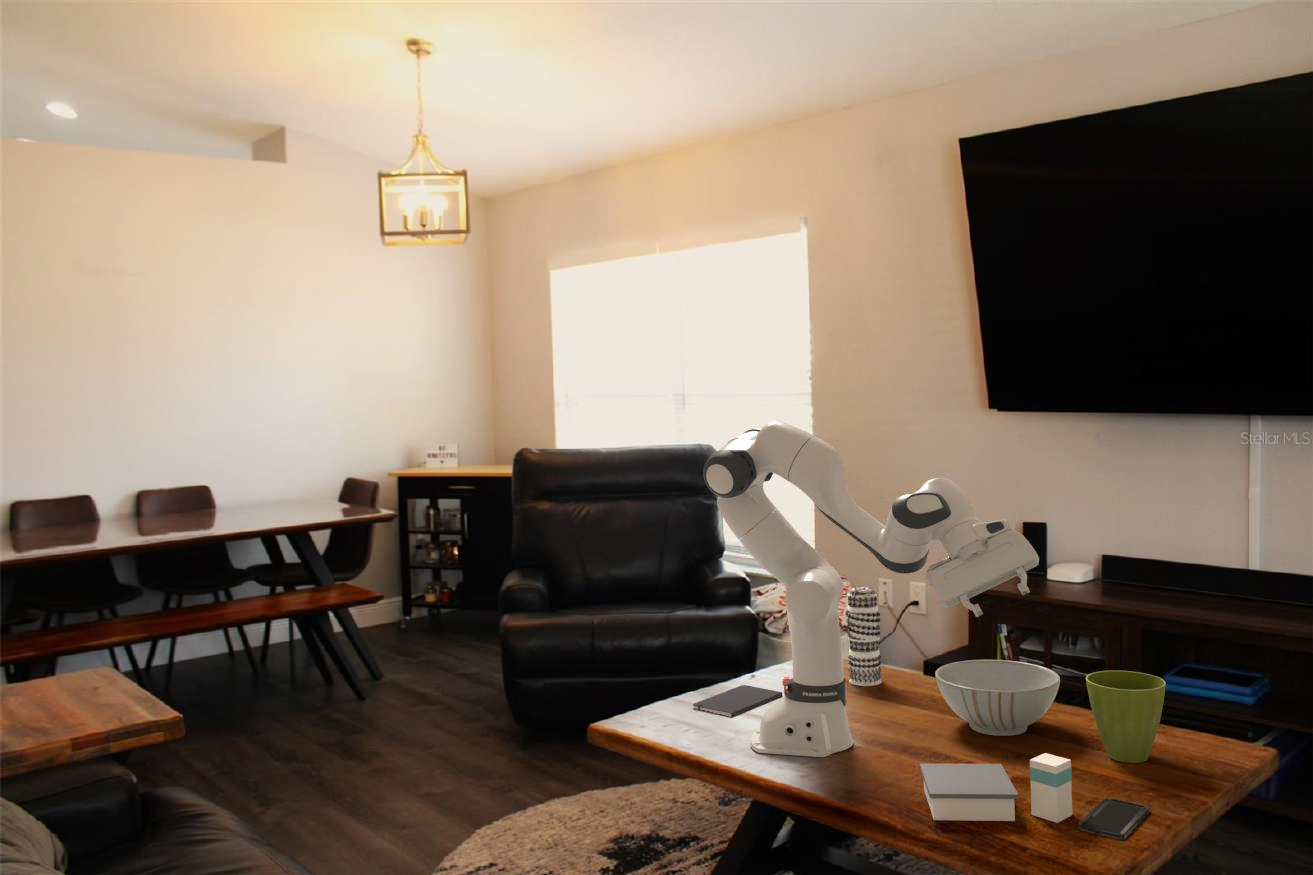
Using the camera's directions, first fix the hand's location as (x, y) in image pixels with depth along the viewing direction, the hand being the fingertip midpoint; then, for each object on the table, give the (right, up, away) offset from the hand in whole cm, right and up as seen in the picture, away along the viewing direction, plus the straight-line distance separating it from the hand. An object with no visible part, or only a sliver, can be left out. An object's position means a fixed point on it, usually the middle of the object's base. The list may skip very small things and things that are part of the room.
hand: (1002, 603), depth 193 cm
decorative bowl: (+12, -35, +40) cm, 54 cm away
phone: (+16, -37, -12) cm, 42 cm away
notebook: (-44, -37, +68) cm, 89 cm away
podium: (-7, -37, -3) cm, 38 cm away
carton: (+6, -36, -8) cm, 38 cm away
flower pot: (+32, -35, +18) cm, 50 cm away
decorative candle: (-9, -34, +81) cm, 89 cm away
